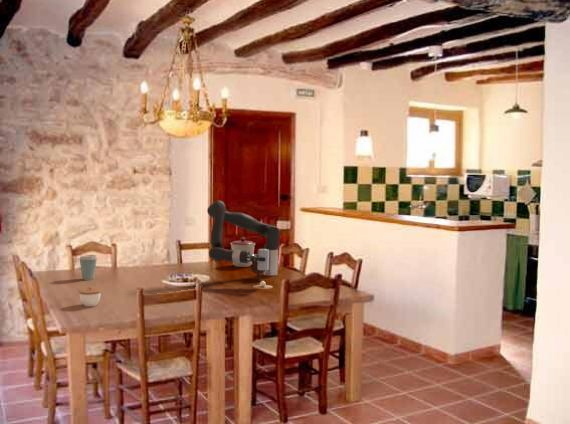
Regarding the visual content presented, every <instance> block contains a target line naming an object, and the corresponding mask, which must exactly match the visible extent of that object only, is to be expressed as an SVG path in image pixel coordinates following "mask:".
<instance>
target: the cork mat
mask: <svg viewBox="0 0 570 424" xmlns="http://www.w3.org/2000/svg"><path fill="white" fill-rule="evenodd" d="M252 287H253V288H254V289H260V290H269V289H272V288H273V285H270V284H269V285H268V284H266V285H265V286H264V287H262V286H261V285H260V284H255V285H253V286H252Z"/></svg>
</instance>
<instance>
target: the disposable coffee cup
mask: <svg viewBox="0 0 570 424" xmlns="http://www.w3.org/2000/svg"><path fill="white" fill-rule="evenodd" d="M97 257H98V256H97V255H96V254H86V255H81V256H80V257H79V264H80V270H81V277H82V279H83V280H85V281H86V280H87V281H90V280H91V281H92V280H94V279H95V273H96V267H97V260H98V258H97Z"/></svg>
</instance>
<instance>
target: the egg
mask: <svg viewBox="0 0 570 424" xmlns="http://www.w3.org/2000/svg"><path fill="white" fill-rule="evenodd" d="M259 285H261V286H262V287H264V286H265V285H267V284H266V282H265V281H264V280H260V283H259Z"/></svg>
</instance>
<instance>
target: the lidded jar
mask: <svg viewBox="0 0 570 424" xmlns="http://www.w3.org/2000/svg"><path fill="white" fill-rule="evenodd" d="M78 292H79V296H78V297H79V300H80V303H81V304H82V305H83V306H84V307H95V306H97V304H98V303H99V302H100V300H101V296H102V295H101V294H102V289H100V288H93V287H91V286H89V287H87V288H82V289H80V290H79V291H78Z"/></svg>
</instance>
